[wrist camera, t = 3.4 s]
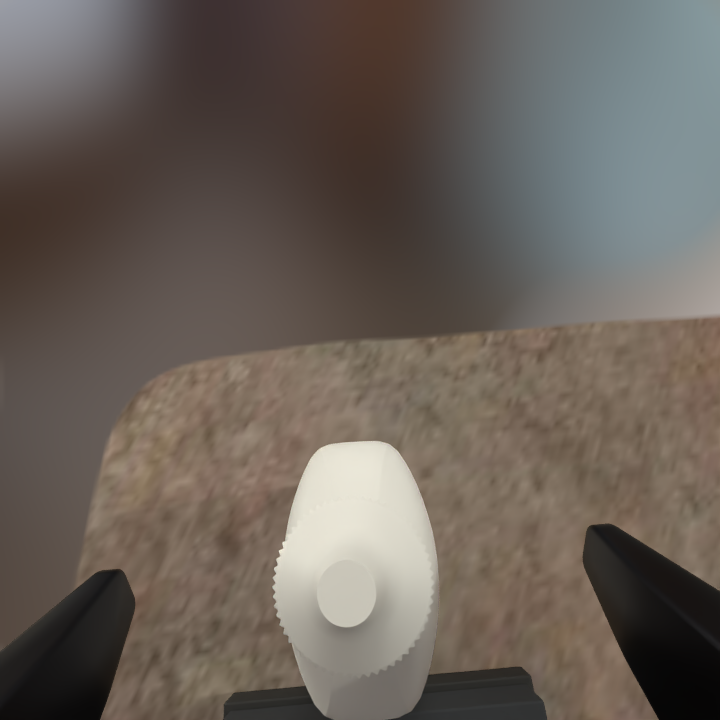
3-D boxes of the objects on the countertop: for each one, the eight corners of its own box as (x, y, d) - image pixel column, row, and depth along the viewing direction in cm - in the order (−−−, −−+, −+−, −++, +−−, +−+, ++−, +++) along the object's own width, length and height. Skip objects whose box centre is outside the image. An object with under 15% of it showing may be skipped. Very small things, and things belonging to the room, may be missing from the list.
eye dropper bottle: (447, 508, 16) (595, 454, 5) (388, 661, 15) (430, 1065, 3) (348, 460, 17) (299, 327, 6) (281, 598, 15) (39, 763, 4)
